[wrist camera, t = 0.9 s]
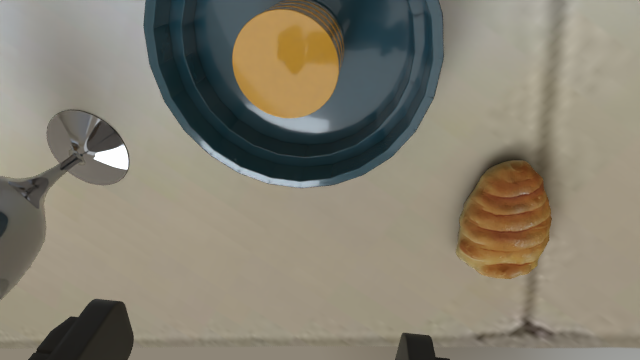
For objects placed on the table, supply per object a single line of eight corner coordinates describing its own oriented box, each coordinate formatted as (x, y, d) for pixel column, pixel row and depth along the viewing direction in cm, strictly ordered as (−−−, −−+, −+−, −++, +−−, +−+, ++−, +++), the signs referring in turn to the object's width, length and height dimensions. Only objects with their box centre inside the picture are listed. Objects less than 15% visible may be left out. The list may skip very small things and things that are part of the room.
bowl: (426, -151, 20) (438, -173, 16) (437, 144, 29) (446, 174, 25) (136, -76, 23) (90, -80, 20) (223, 167, 32) (202, 197, 28)
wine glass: (29, 99, 31) (-213, 208, 18) (124, 111, 30) (-57, 231, 18) (57, 182, 35) (-124, 317, 22) (140, 194, 35) (4, 339, 22)
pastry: (460, 157, 29) (471, 184, 26) (557, 152, 28) (581, 180, 25) (452, 252, 34) (461, 284, 30) (535, 251, 33) (553, 284, 29)
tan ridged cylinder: (337, -12, 24) (328, -2, 19) (351, 83, 26) (346, 111, 22) (245, 6, 25) (217, 20, 20) (268, 95, 28) (248, 124, 23)
